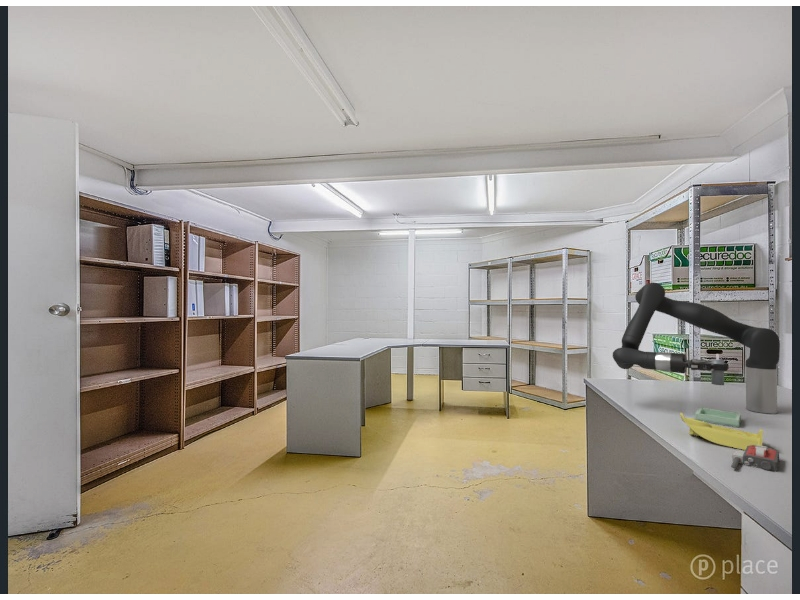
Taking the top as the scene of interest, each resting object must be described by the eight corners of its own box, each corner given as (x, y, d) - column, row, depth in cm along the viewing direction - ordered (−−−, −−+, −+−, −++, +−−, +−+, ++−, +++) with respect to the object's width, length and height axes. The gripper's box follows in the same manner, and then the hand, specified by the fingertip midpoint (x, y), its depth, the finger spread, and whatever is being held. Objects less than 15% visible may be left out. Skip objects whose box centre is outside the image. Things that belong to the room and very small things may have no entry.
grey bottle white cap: (712, 382, 145) (711, 353, 146) (724, 384, 143) (724, 354, 143) (710, 384, 143) (710, 354, 143) (723, 385, 140) (723, 355, 140)
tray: (699, 414, 151) (699, 407, 151) (740, 420, 143) (740, 413, 143) (695, 420, 142) (695, 413, 143) (738, 427, 134) (738, 420, 134)
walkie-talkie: (738, 451, 113) (727, 471, 99) (738, 436, 113) (727, 453, 99) (780, 460, 106) (775, 482, 93) (780, 444, 106) (775, 464, 93)
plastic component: (760, 435, 119) (763, 428, 112) (758, 459, 117) (761, 454, 110) (680, 418, 132) (679, 410, 125) (678, 440, 130) (676, 433, 123)
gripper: (667, 354, 148) (726, 358, 136) (674, 351, 158) (729, 355, 146) (667, 374, 148) (726, 380, 136) (674, 370, 158) (729, 375, 146)
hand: (727, 367), depth 141 cm, fingers closed on grey bottle white cap, 3 cm apart
